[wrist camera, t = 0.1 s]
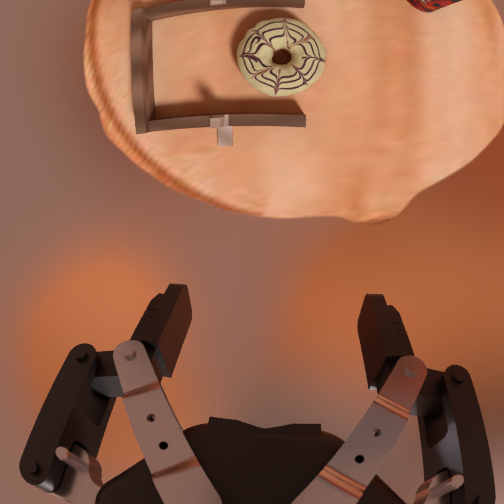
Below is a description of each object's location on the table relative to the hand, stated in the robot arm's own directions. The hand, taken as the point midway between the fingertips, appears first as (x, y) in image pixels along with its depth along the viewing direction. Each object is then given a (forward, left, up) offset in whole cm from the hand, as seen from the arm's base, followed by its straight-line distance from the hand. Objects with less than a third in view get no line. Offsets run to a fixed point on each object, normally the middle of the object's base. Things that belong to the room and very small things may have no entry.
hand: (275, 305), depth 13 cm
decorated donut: (-14, 0, -30) cm, 33 cm away
